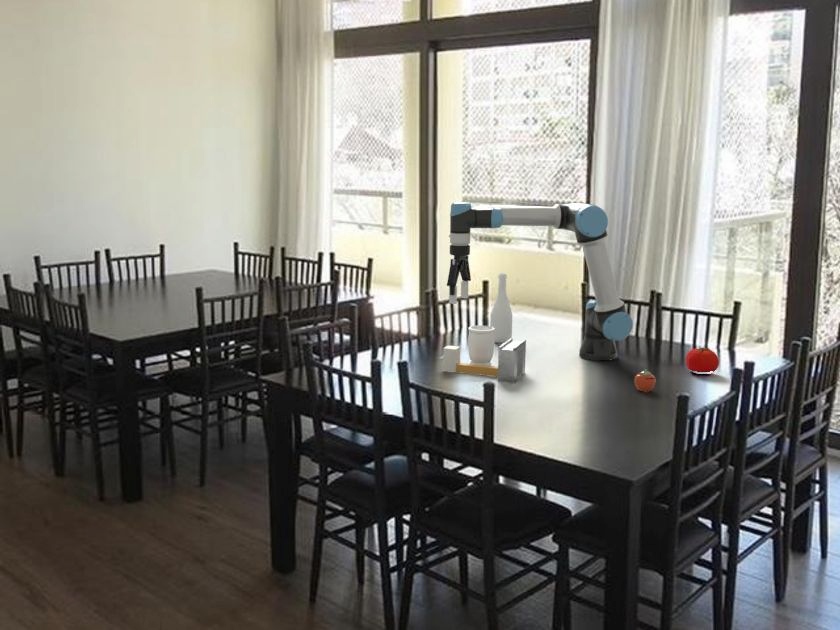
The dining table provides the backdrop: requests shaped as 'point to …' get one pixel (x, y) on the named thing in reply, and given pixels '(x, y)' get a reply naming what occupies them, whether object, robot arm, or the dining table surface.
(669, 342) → the dining table surface
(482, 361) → the jar
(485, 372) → the plug
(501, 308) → the wine bottle
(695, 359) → the tomato
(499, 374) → the box
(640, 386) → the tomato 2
